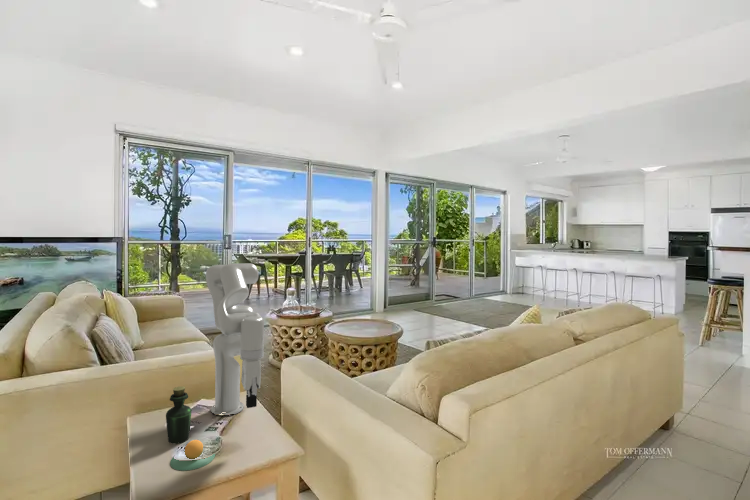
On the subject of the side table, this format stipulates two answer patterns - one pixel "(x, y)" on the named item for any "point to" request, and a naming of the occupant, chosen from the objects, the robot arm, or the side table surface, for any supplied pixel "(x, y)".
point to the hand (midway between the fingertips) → (251, 406)
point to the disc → (190, 463)
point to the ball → (193, 449)
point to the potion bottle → (178, 417)
